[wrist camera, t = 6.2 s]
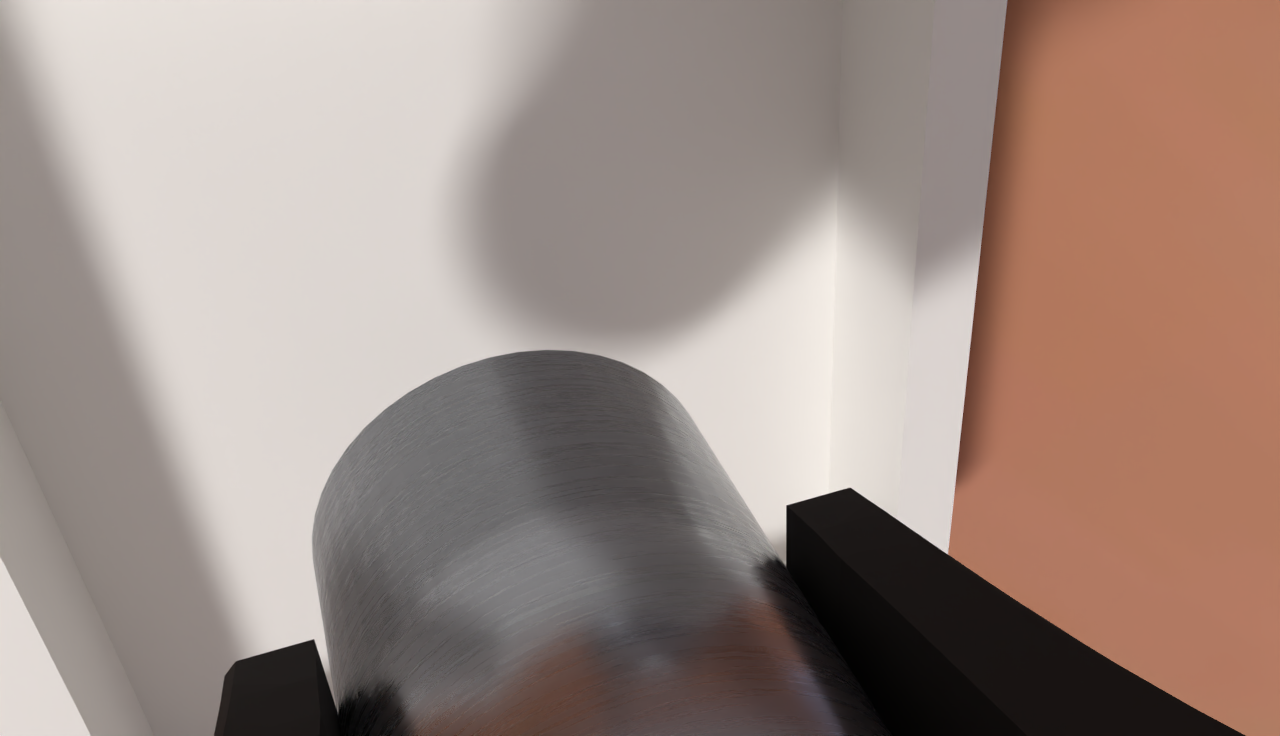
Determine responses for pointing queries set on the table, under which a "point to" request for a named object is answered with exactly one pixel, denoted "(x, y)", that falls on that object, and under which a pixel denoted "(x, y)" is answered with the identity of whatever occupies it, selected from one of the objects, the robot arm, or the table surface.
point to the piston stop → (561, 570)
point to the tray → (444, 279)
